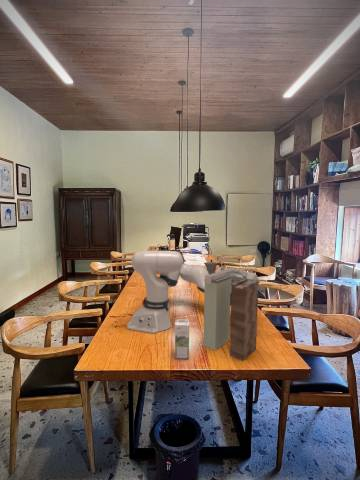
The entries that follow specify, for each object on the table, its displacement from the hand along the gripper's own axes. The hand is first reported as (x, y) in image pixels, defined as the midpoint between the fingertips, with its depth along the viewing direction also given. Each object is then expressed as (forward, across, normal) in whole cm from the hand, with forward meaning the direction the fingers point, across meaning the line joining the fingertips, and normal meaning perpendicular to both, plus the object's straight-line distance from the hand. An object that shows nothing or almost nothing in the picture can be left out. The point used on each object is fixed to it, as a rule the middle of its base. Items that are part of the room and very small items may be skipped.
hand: (230, 269), depth 129 cm
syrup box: (+9, +5, -42) cm, 43 cm away
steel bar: (+5, 0, -6) cm, 8 cm away
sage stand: (-7, 0, -33) cm, 33 cm away
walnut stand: (-7, -13, -33) cm, 36 cm away
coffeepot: (-89, +63, +14) cm, 110 cm away
